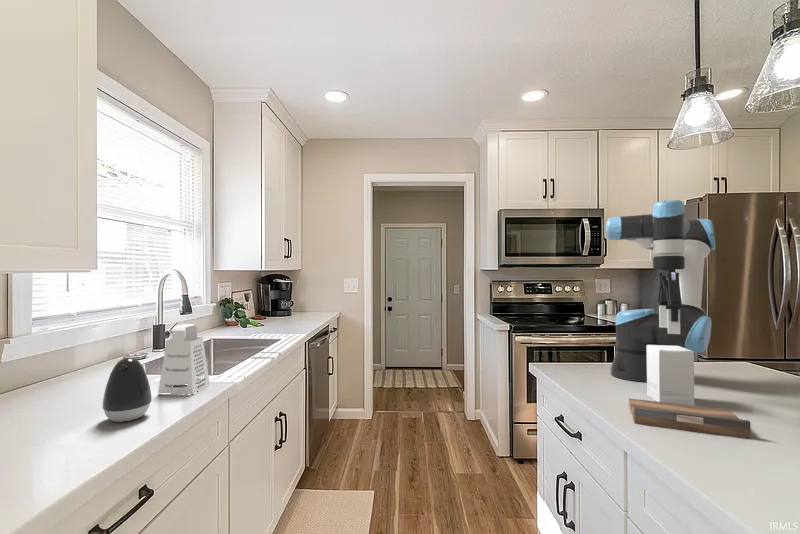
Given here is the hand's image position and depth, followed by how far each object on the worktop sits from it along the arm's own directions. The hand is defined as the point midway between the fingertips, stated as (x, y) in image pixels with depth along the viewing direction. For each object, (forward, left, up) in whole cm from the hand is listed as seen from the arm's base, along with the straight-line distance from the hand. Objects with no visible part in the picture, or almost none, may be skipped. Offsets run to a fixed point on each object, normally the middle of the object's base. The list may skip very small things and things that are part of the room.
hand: (669, 330), depth 115 cm
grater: (+49, -135, -20) cm, 145 cm away
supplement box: (0, 0, -20) cm, 20 cm away
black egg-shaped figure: (+72, -126, -20) cm, 146 cm away
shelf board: (+17, 0, -20) cm, 26 cm away
